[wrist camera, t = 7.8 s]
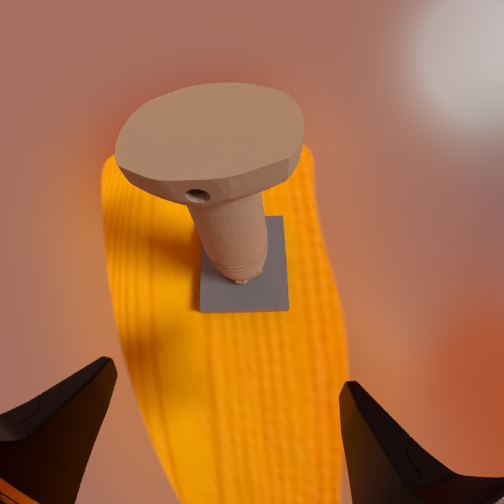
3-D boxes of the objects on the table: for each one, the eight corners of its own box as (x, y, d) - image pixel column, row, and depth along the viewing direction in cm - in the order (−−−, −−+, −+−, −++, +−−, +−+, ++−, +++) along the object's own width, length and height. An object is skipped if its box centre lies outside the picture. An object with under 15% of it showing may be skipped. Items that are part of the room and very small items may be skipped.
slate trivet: (288, 310, 22) (288, 308, 21) (203, 313, 22) (199, 311, 21) (282, 221, 24) (282, 215, 23) (206, 226, 25) (203, 220, 24)
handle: (207, 238, 23) (140, 93, 9) (283, 239, 23) (299, 82, 9) (201, 294, 21) (97, 187, 7) (282, 297, 21) (310, 180, 7)
